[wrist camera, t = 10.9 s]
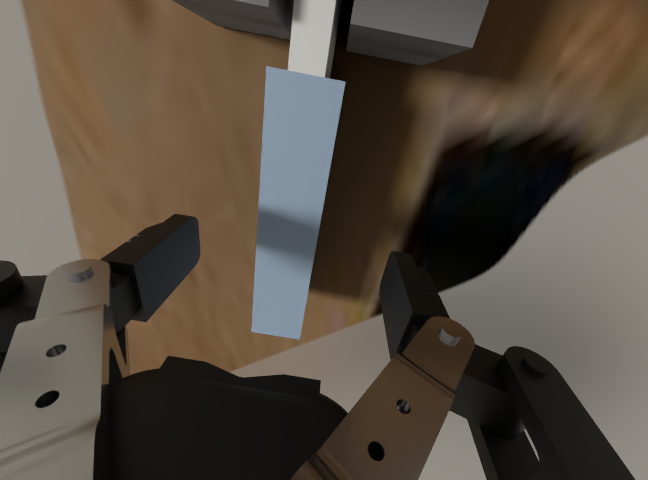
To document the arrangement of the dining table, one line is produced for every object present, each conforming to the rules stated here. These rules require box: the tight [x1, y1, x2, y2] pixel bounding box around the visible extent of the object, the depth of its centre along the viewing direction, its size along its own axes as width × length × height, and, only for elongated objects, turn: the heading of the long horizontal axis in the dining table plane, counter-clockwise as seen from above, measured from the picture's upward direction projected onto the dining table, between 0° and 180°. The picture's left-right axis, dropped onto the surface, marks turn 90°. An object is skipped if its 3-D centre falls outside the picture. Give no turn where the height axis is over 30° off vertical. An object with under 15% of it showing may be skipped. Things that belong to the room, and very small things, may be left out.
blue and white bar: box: [252, 0, 346, 340], centre depth 14 cm, size 19×3×5 cm, turn 170°
